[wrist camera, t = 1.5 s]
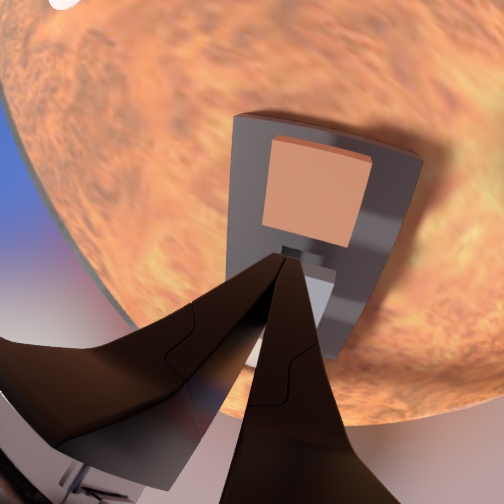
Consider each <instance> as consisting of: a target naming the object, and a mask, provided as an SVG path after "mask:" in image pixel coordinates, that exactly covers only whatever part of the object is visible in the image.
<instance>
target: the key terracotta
mask: <svg viewBox="0 0 504 504" xmlns="http://www.w3.org/2000/svg"><path fill="white" fill-rule="evenodd" d="M371 166H372V160H371V157H370V156H367V155H363V154H360V153H356V152H352V151H349V150H345V149H341V148H337V147H333V146H329V145H325V144H320V143H316V142H311V141H307V140H302V139H297V138H292V137H287V136H282V135H278V136H277V137H275V138H274V139H273V140H272V147H271V155H270V163H269V172H268V180H267V189H266V197H265V205H264V213H263V222H262V225H265V226H269V227H273V228H277V229H280V230H284V231H288V232H292V233H296V234H299V235H303V236H307V237H310V238H314V239H318V240H321V241H325V242H329V243H332V244H336V245H339V246H343V247H348V244H349V241H350V238H351V235H352V232H353V229H354V226H355V222H356V219H357V216H358V213H359V209H360V206H361V203H362V199H363V196H364V192H365V189H366V185H367V181H368V178H369V174H370V170H371Z"/></svg>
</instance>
